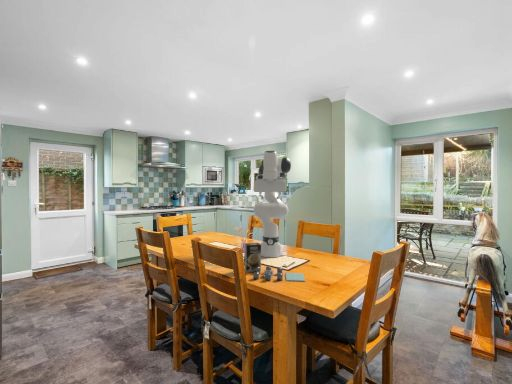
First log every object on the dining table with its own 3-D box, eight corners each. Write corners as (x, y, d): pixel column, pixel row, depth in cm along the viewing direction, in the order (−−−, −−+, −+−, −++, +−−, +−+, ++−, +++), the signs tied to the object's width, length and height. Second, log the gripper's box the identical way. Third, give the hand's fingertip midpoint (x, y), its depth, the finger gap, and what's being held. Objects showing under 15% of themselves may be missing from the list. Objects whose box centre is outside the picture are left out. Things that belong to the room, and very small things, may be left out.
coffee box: (246, 272, 155) (246, 245, 155) (243, 269, 161) (244, 243, 161) (261, 271, 157) (261, 244, 157) (258, 268, 164) (258, 242, 163)
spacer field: (255, 271, 157) (255, 265, 157) (282, 272, 155) (282, 266, 155) (252, 280, 142) (252, 274, 142) (282, 281, 140) (282, 275, 140)
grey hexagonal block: (264, 274, 152) (264, 269, 152) (272, 275, 151) (272, 270, 151) (263, 278, 146) (263, 272, 146) (272, 278, 145) (272, 273, 145)
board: (285, 273, 154) (285, 272, 154) (302, 274, 153) (302, 273, 153) (286, 280, 142) (286, 279, 142) (305, 281, 141) (305, 280, 141)
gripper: (287, 177, 163) (286, 199, 163) (254, 177, 165) (253, 199, 164) (287, 176, 157) (287, 199, 156) (253, 176, 158) (253, 199, 158)
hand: (269, 199), depth 160 cm, fingers open, 8 cm apart
